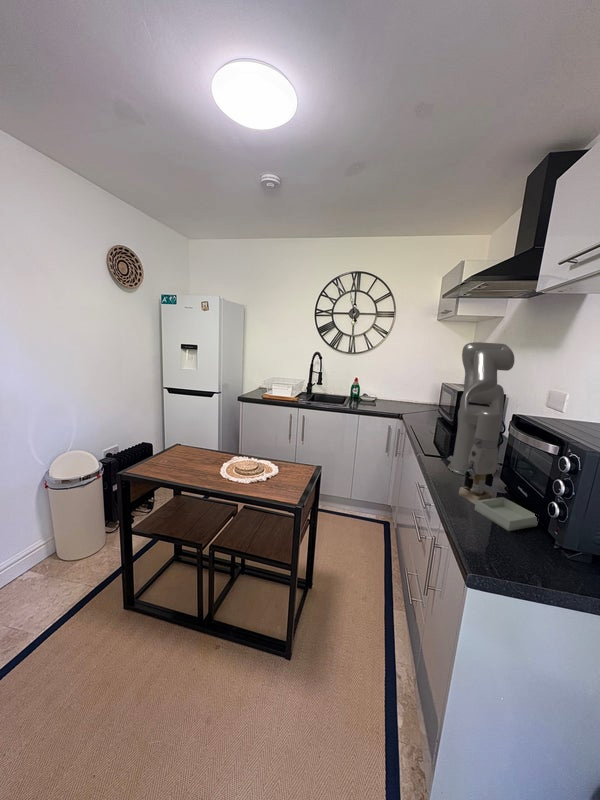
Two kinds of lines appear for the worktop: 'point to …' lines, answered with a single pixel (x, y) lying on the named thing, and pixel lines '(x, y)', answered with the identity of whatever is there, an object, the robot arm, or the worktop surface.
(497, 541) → the worktop surface
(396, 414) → the worktop surface
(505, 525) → the tray
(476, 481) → the sprinkles bottle
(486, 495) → the collar
